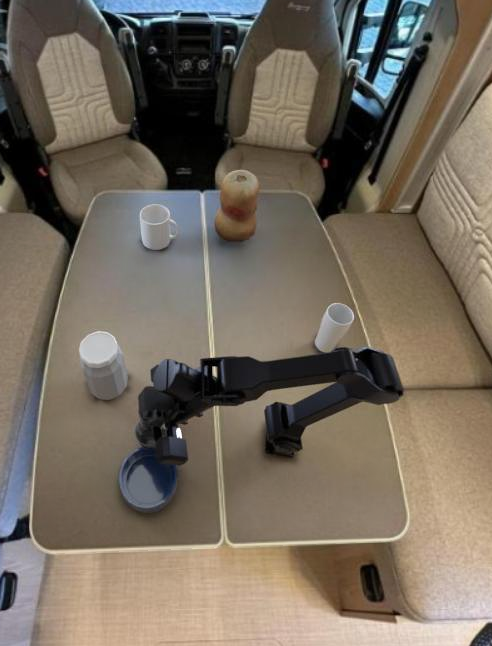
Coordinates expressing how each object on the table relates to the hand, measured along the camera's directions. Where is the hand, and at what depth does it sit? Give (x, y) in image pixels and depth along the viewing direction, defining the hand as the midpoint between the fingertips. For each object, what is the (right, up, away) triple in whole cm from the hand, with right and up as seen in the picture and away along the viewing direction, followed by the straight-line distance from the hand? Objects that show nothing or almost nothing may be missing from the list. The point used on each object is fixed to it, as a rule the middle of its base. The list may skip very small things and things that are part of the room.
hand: (141, 427), depth 85 cm
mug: (-1, +42, +53) cm, 68 cm away
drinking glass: (+46, +12, +29) cm, 56 cm away
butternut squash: (+24, +44, +55) cm, 75 cm away
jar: (-11, +4, +20) cm, 23 cm away
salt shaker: (+1, -4, +5) cm, 7 cm away
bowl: (+1, -14, +5) cm, 15 cm away
